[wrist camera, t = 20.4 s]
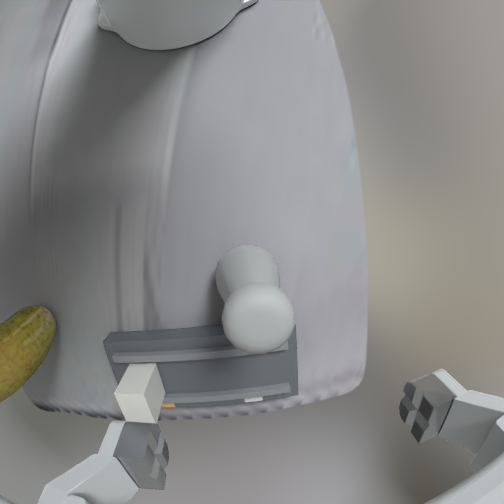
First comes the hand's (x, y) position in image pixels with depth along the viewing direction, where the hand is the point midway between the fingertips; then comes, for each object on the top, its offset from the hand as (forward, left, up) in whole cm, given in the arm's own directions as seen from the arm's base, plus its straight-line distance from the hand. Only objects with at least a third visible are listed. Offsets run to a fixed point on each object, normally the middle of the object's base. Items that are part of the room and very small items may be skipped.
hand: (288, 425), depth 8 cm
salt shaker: (0, 0, -21) cm, 21 cm away
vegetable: (+4, -25, -21) cm, 33 cm away
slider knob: (+10, -12, -18) cm, 24 cm away
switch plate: (+10, -6, -21) cm, 24 cm away
